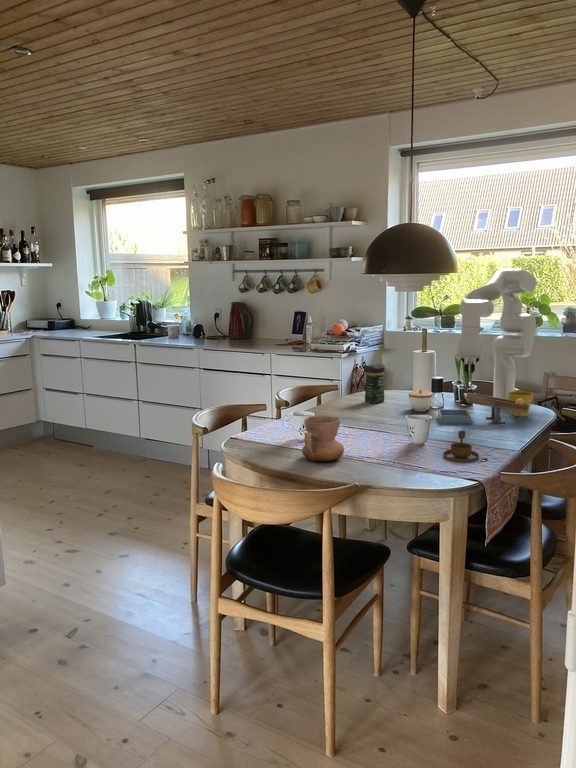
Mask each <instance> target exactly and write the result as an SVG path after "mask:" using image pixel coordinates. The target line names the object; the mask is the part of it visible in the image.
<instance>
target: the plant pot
mask: <svg viewBox="0 0 576 768" xmlns="http://www.w3.org/2000/svg"><path fill="white" fill-rule="evenodd" d="M519 398H521V399H523V400H524V401H525V402H526V403H527V404H528V406H529V407H528V411H527V413H523V412H517V411H512V410H510V413H511V415H512V416H513V415H514V417H518V416H519V417H520V416H521V417H523V418H524V416H525V417H528V416H529V413H530V408H531V406H532V405H531V404H532V402H533V401H534V393H533V392H530V391H523V390H514V391H512V392H509V393H508V400H513V401H516V400H517V399H519Z"/></svg>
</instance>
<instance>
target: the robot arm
mask: <svg viewBox="0 0 576 768" xmlns="http://www.w3.org/2000/svg"><path fill="white" fill-rule="evenodd" d="M536 287H537V279H536V277H535V276H534V275H533V274H532V273H530V272H529V271H527V270H525V269H522V268H501V269H498V270H496V271H495V272H494V273H493V275H491V277H490V278H489V280H488V281H487V282H486V284H484V285H481V286H480V287H477V288H475V289H473V290H471V291H470V292H468V293H467V294H466V295H465V296H464V297H463V299H462V300H461V301H460V304H459V308H458V309H459V313H460V314H461V333H459V334H458V340H457V351H456V352H457V353H456V355H455V359H456V360H459V361H461V362H462V363H463V364H464V372H465V373H466V374H469V368H470V373H471V374H474V372H475V370H476V369H475V368H476V364H477V363H478V362H479V361H481V360H484V359H485V355H484V351H483V350H484V347H483V346H484V345H483V344H484V343H483V336H482V333H481V332H482V331H483V332H484V330H485V329H484V327H482V326H481V318H488V317H490V316H492V315H493V313H494V310H495V306H494V303H493V301H496V300H498V299H500V298H502V302H503V304H502V305H503V306H502V311H501V317H500V323H499V329H500V331H501V332H502V333H505V334H515V335H498V336H496V337H495V338H494V339H493V342H492V350H493V351H492V352H493V358H494V363H493V364H494V365H493V367H494V369H493V390H492V391H493V393H492V397H496V398H501V399H507V400H508V393H509V392H512V391H515V389H516V388H515V387H516V386H515V384H516V362H515V360H514V359H513V357H517V358H527V357H529V356H530V355H531V353H532V351H533V345H534V339H535V333H536V326H537V321H536V317H535V316H534V315H533V314H531V313H522V310H523V302H522V300H521V298H520V297H519V295H518V294H531V293H533V292H534V291H535V289H536ZM516 334H517V335H518V336H517V335H516ZM520 335H521V336H520ZM468 358H472V361H471V363H470V367H469V362H468Z"/></svg>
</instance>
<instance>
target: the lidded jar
mask: <svg viewBox="0 0 576 768" xmlns="http://www.w3.org/2000/svg"><path fill="white" fill-rule="evenodd" d="M433 395H434V394H433V392H430V391H423V390H422V389H419V390H417V391H410V392H408V403H409V406H410V407H411V408H412V410H413V409H414V410H413V411H416V412H427V411H428V410H429V409H430V407H431V406H432V403H433ZM426 410H427V411H426Z"/></svg>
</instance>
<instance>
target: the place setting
mask: <svg viewBox="0 0 576 768" xmlns="http://www.w3.org/2000/svg"><path fill="white" fill-rule="evenodd" d="M457 436H458V439H459V440H460V441H459V442H454V443H452V444H450V448H448V449H446V450H445V451H443V453H442V454H443V458H444V459H446V461H450V462H454V461H455V462H454V463H473V462H476V461H478V460H479V458H480V453H478V452H476V451H473V449H472V447H473V445H472V444H470V443H467V442H466V443H465V442H463V440H464V439H465V437H466V431H465V430H459V431H458V432H457ZM451 453H452V454H451ZM471 454H472V455H471ZM448 455H452V456H453V457H454V458H453V457H450V456H448ZM473 455H474V456H473ZM470 456H473V457H474V458H468V457H470ZM475 456H476V457H475ZM488 459H489V458H488V457H484V458H481V459H480V461H479V462H481V463H483V461H482V460H485V461H484V462H487V461H488ZM472 461H473V462H472Z"/></svg>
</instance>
